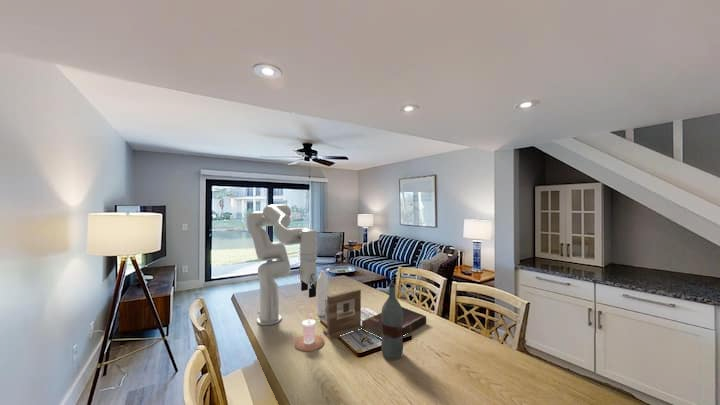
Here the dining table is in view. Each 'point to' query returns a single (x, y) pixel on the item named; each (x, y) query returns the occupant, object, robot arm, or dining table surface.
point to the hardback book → (409, 323)
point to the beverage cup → (308, 330)
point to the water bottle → (322, 292)
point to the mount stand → (342, 313)
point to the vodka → (392, 327)
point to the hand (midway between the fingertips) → (308, 293)
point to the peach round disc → (309, 347)
